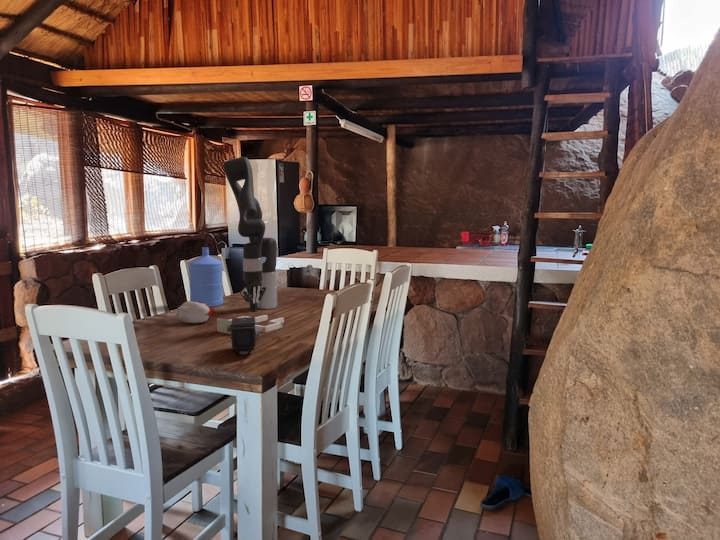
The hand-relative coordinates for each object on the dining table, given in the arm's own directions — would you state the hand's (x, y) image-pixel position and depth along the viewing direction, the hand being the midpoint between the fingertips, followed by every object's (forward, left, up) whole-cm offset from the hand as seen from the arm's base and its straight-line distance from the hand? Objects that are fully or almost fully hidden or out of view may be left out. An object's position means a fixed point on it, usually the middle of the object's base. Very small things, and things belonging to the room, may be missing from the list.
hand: (253, 311), depth 218 cm
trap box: (+1, 0, -6) cm, 6 cm away
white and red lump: (+8, -24, -6) cm, 26 cm away
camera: (+29, +24, -6) cm, 38 cm away
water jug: (-20, -52, -6) cm, 56 cm away
